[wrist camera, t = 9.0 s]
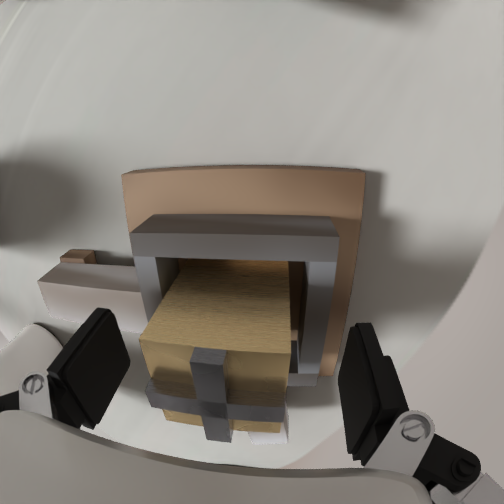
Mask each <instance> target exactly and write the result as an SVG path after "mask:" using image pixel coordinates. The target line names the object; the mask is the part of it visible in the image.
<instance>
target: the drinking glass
mask: <svg viewBox="0 0 504 504" xmlns="http://www.w3.org/2000/svg"><path fill="white" fill-rule="evenodd" d="M62 349H63V347H62V345H61V344H60V342H59V341H58V340H57V339H56V338H55V337H54V336H53V335H52V334H51V333H50V332H49V331H48V330H46V329H45V328H43V327H42V326H39V325H37V324H29V325H27V326H25V327H24V328H23V329H22V330H21V331H20V332H19V333H18V334H17V336H16V337H15V338H13V339H12V340H11V341H10V342H9V343H8V344H7V345H6V346H5V347H4V348H3V349H1V350H0V396H2V395H6V394H9V393H12V392H15V391H18V390H19V385H20V382H21V380H22V379H23V378H24V377H25V376H26V375H27V374H29V373H31V372H36V371H37V372H42V373H44V374H45V375H46V376H47V375H48V372H47V368H48V367H49V366H50V364H51V363H52V362H53V360H54V359H55V358H56V357H57V355H58V354H59V353H60V351H61V350H62Z"/></svg>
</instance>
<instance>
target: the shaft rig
mask: <svg viewBox="0 0 504 504" xmlns="http://www.w3.org/2000/svg"><path fill="white" fill-rule="evenodd" d="M365 174H366V173H364V172H362V171H361V170H359V169H349V168H333V167H315V166H286V165H220V166H192V167H173V168H158V169H145V170H133V171H130V172H127V173H125V174H122V175H121V176H122V185H123V194H124V202H125V209H126V216H127V223H128V229H129V236H130V242H131V247H132V253H133V258H134V263H135V267H134V266H116V265H98V264H97V262H96V258H95V253H94V250H69V251H68V252H67V253H65V254H64V255H62V256H61V257H60V261H61V262H60V263H59V264H58V265H57V266H55V267H54V268H53V269H52V270H50V271H49V272H48V273H47V274H45V275H44V276H43V277H42V278H40V279H39V280H38V281H37V282H38V285H39V287H40V290H41V293H42V296H43V299H44V301H45V304H46V307H47V309H48V312H49V314H50V317H53V318H58V319H62V320H67V321H72V322H77V323H82V324H83V323H84V322H85V321H86V319H87V318H88V317H89V316H90V315H91V314H92V312H93V311H94V310H95V309H96V308H98V307H100V308H107V309H110V310H111V311H112V313H114V314H115V317H116V320H117V323H118V326H119V329H120V330H122V331H128V332H135V333H143V331H144V329H145V328H146V326H147V324H148V323H149V321H150V319H151V318H152V316H153V314H154V313H155V311H156V309H157V308H158V306H159V305H160V303H161V301H162V300H163V298H164V297H165V295H166V293H167V292H168V290H169V289H170V287H171V285H172V284H173V282H174V281H175V279H176V277H177V276H178V274H179V273H180V271H181V270H182V268H183V267H184V265H185V263H186V262H187V260H188V259H189V258H200V259H232V260H267V261H288V270H289V296H290V330H291V358H290V366H289V373H288V381H287V386H316V384H317V379H318V376H333V373H334V369H335V365H336V361H337V357H338V353H339V349H340V344H341V340H342V335H343V331H344V326H345V321H346V316H347V311H348V306H349V300H350V295H351V289H352V283H353V277H354V271H355V265H356V258H357V251H358V243H359V236H360V227H361V219H362V209H363V199H364V187H365ZM288 426H289V415H288V410H287V405H286V408H285V415H284V421H283V423H281V429H280V433H266V432H250V431H247V432H248V434H249V437H250V439H251V441H252V444H253V445H255V444H284V443H288Z"/></svg>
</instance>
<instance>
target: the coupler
mask: <svg viewBox="0 0 504 504" xmlns="http://www.w3.org/2000/svg"><path fill="white" fill-rule="evenodd" d="M139 342H140V345H141V349H142V352H143V355H144V358H145V361H146V365H147V368H148V371H149V374H150V377H151V379H150V381H149V383H148V385H147V388H146V390H145V392H146V395H147V397H148V400H149V402H150V404H151V407H155V408H160V409H162V410H163V412H164V415H165V417H166V420H169V421H174V422H180V423H185V424H191V425H198V426H204V430H205V434H206V438H207V440H213V441H221V442H230V443H231V440H232V434H233V430H238V431H250V432H266V433H280V429H281V423H283V421H284V415H285V408H286V388H287V381H288V373H289V366H290V358H291V330H290V296H289V270H288V261H267V260H232V259H200V258H189V259H188V260H187V262H186V263H185V265H184V267H183V268H182V270H181V271H180V273H179V274H178V276H177V277H176V279H175V281H174V282H173V284H172V285H171V287H170V289H169V290H168V292H167V293H166V295H165V297H164V298H163V300H162V301H161V303H160V305H159V306H158V308H157V309H156V311H155V313H154V314H153V316H152V318H151V319H150V321H149V323H148V324H147V326H146V328H145V329H144V331H143V333H142V334H141V336H140V338H139Z"/></svg>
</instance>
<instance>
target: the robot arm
mask: <svg viewBox="0 0 504 504" xmlns="http://www.w3.org/2000/svg"><path fill="white" fill-rule="evenodd" d="M129 366H130V358H129V355H128V353H127V350H126V347H125V344H124V341H123V338H122V335H121V332H120V329H119V326H118V323H117V320H116V317H115V314H114V313H112V311H111V310H110V309H107V308H100V307H98V308H96V309H95V310H94V311H93V312H92V314H91V315H90V316H89V317H88V318H87V319H86V321H85V322H84V323H83V324H82V325H81V327H80V328H79V329H78V330H77V332H76V333H75V334H74V335H73V336H72V338H71V339H70V340H69V341H68V343H67V344H66V345H65V346H64V348H63V349H62V350H61V351H60V353H59V354H58V355H57V357H56V358H55V359H54V360H53V362H52V363H51V364H50V366H49V367H48V368H47V372H48V375H47V376H46V375H45V374H44V373H42V372H37V371H36V372H31V373H29V374H27V375H26V376H25V377H24V378H23V379H22V380H21V382H20V385H19V390H18V391H15V392H12V393H9V394H6V395H2V396H0V504H504V490H503V489H502V488H501V487H500V486H499V485H498V484H497V483H496V482H495V481H494V480H493V479H492V478H491V477H490V476H489V475H488V474H487V473H485V475H483V474H482V473H481V472H480V471H481V465H480V461H479V459H478V458H477V456H476V455H474V454H473V453H472V452H470V451H468V450H466V449H464V448H462V447H460V446H458V445H456V444H454V443H452V442H450V441H448V440H446V439H444V438H442V437H440V436H439V435H437V434H435V433H434V432H435V425H434V423H433V420H432V419H431V418H430V417H429V416H428V415H427V414H425V413H423V412H420V411H413V410H412V411H409V408H408V405H407V402H406V399H405V396H404V393H403V390H402V387H401V384H400V381H399V379H398V375H397V373H396V370H395V367H394V364H393V362H392V359H391V357H390V356H383V353H382V350H381V347H380V345H379V342H378V339H377V336H376V334H375V331H374V328H373V326H372V324H371V323H356V324H355V327H351V328H350V331H349V335H348V339H347V343H346V348H345V352H344V356H343V360H342V363H341V367H340V371H339V375H338V386H339V393H340V399H341V406H342V413H343V420H344V428H345V435H346V444H347V451H348V454H352V455H353V461H355V460H361V465H362V466H364V468H340V469H267V468H251V467H239V466H229V465H221V464H213V463H206V462H199V461H193V460H188V459H182V458H177V457H172V456H167V455H163V454H159V453H154V452H150V451H146V450H142V449H139V448H135V447H131V446H128V445H124V444H121V443H118V442H114V441H111V440H108V439H105V438H102V437H99V436H96V435H94V434H91V433H88V432H85V431H82V430H80V427H81V425H83V426H85V427H87V428H90V429H94V428H95V426H96V424H99V423H100V421H101V419H102V417H103V415H104V413H105V411H106V410H107V408H108V406H109V404H110V402H111V400H112V398H113V396H114V394H115V392H116V390H117V389H118V387H119V385H120V383H121V381H122V379H123V377H124V376H125V374H126V372H127V370H128V368H129Z"/></svg>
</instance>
